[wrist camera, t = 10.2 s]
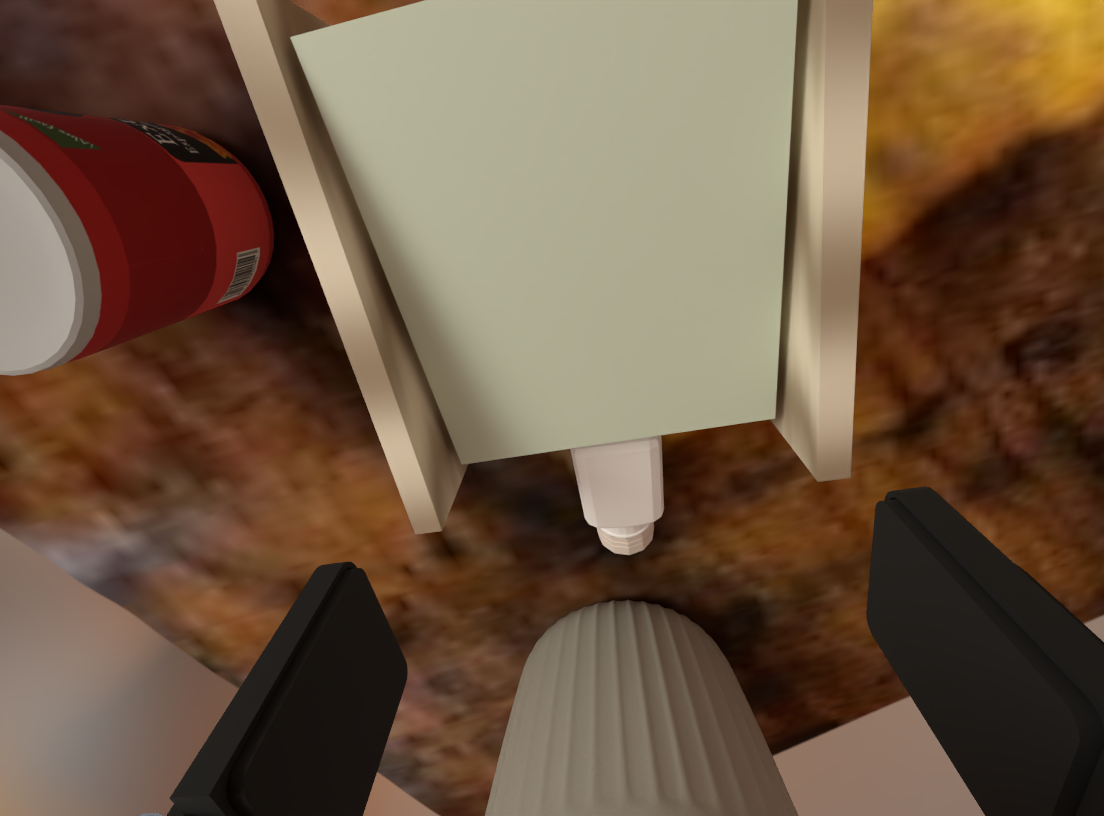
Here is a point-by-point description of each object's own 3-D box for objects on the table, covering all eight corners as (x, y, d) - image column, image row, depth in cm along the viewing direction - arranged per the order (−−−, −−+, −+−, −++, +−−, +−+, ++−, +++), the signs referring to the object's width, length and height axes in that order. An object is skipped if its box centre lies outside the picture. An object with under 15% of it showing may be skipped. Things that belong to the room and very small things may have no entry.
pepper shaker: (568, 450, 22) (593, 565, 28) (663, 438, 21) (667, 558, 28) (565, 389, 25) (589, 506, 31) (649, 377, 24) (655, 498, 31)
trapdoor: (321, 38, 14) (290, 37, 12) (772, -82, 13) (803, -102, 11) (469, 433, 22) (461, 464, 20) (758, 388, 20) (775, 418, 19)
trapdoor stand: (369, 39, 21) (184, -78, 11) (730, -57, 20) (887, -297, 10) (479, 426, 29) (425, 560, 19) (749, 384, 27) (848, 508, 17)
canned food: (249, 117, 23) (-7, 74, 13) (301, 295, 26) (129, 370, 16) (92, 135, 24) (-267, 107, 14) (162, 306, 27) (-86, 385, 17)
